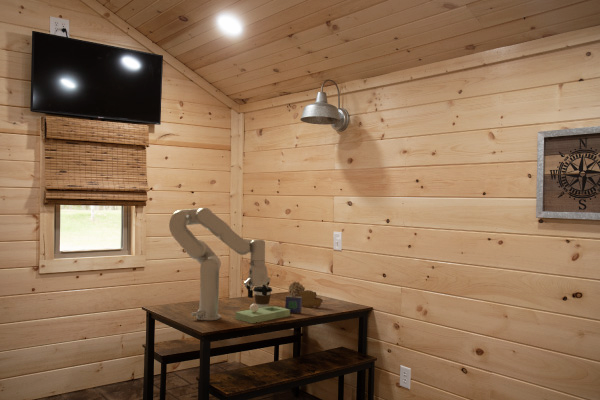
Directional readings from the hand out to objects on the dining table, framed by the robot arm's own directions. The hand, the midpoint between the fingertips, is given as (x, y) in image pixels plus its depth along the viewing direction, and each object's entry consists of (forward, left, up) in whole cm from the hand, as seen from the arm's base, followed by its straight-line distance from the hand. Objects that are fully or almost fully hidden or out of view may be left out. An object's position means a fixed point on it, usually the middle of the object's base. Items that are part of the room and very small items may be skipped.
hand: (257, 296), depth 263 cm
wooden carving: (+43, +3, -12) cm, 45 cm away
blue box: (+25, -2, -12) cm, 28 cm away
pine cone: (+58, +25, -12) cm, 65 cm away
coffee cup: (+18, +16, -12) cm, 27 cm away
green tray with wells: (+5, 0, -12) cm, 13 cm away
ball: (-2, 0, -6) cm, 6 cm away
